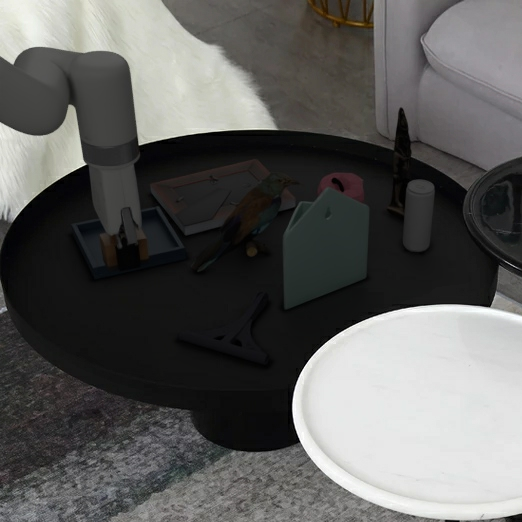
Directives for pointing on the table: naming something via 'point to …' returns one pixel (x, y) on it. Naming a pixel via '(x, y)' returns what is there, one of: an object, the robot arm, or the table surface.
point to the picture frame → (211, 195)
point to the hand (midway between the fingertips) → (125, 259)
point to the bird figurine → (247, 221)
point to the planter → (324, 247)
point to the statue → (401, 166)
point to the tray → (154, 228)
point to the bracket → (233, 334)
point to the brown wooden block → (110, 251)
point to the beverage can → (418, 215)
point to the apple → (344, 185)
